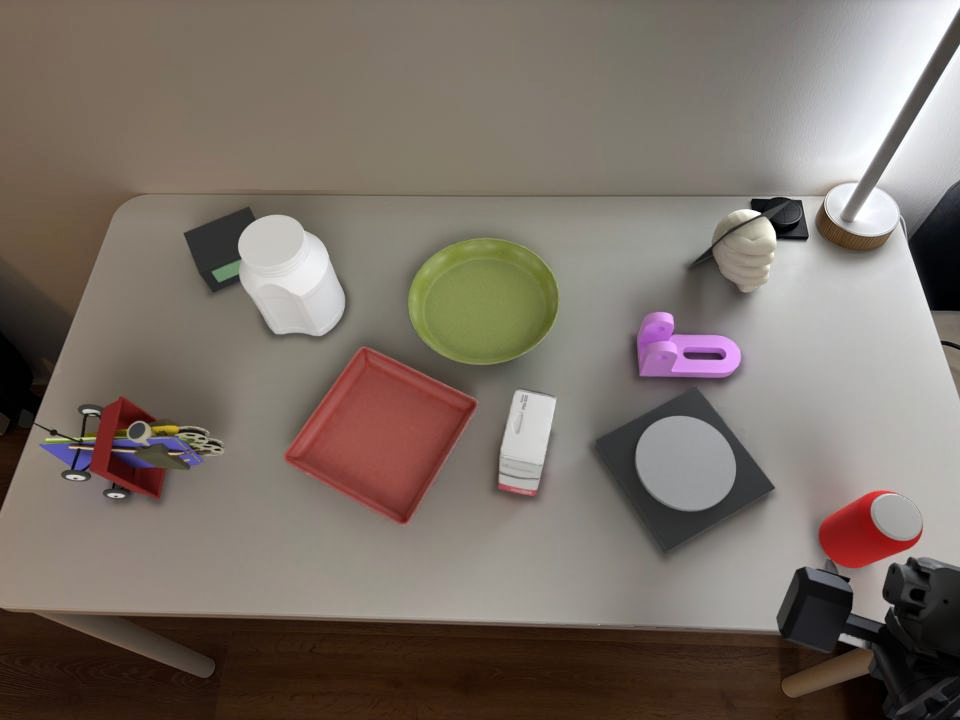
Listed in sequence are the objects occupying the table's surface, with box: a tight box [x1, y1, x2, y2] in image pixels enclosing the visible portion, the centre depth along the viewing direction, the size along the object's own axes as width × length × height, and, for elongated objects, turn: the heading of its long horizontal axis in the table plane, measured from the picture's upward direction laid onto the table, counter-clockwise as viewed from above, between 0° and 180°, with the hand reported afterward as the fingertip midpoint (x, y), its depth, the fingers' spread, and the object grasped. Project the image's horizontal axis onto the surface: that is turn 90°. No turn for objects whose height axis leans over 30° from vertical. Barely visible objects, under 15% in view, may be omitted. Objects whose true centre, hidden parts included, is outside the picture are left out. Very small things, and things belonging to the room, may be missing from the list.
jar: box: [238, 214, 346, 337], centre depth 86 cm, size 12×10×15 cm
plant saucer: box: [282, 346, 479, 527], centre depth 81 cm, size 18×18×3 cm
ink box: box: [497, 387, 557, 497], centre depth 76 cm, size 9×5×12 cm, turn 167°
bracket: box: [636, 311, 742, 379], centre depth 83 cm, size 13×6×7 cm, turn 88°
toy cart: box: [17, 395, 226, 500], centre depth 75 cm, size 17×9×20 cm
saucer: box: [407, 237, 561, 366], centre depth 90 cm, size 21×21×3 cm
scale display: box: [182, 205, 257, 293], centre depth 95 cm, size 8×10×5 cm
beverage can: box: [818, 489, 924, 569], centre depth 69 cm, size 6×6×12 cm
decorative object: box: [689, 198, 794, 293], centre depth 88 cm, size 13×10×10 cm
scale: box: [594, 386, 776, 555], centre depth 78 cm, size 15×15×3 cm
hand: (880, 579), depth 60 cm, fingers open, 9 cm apart
